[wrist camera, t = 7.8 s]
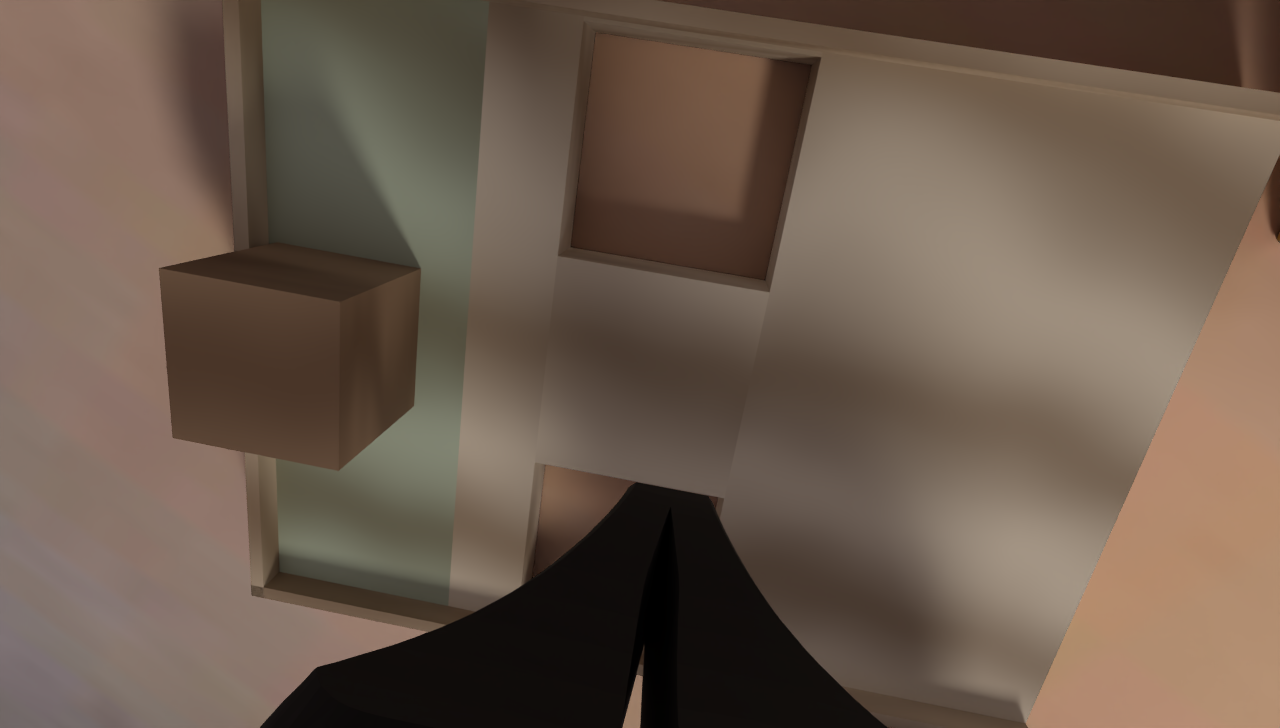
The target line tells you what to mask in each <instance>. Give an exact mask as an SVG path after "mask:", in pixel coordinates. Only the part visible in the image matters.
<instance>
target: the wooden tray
mask: <svg viewBox="0 0 1280 728" xmlns="http://www.w3.org/2000/svg"><path fill="white" fill-rule="evenodd" d="M222 10H223V30H224V50H225V70H226V90H227V111H228V131H229V151H230V171H231V191H232V211H233V231H234V251H240V250H244V249H249V248H253V247H258V246H263V245H267V244H272V243H276V242H279V243H284V244H290V245H295V246H301V247H306V248H312V249H317V250H323V251H328V252H334V253H339V254H345V255H350V256H356V257H361V258H367V259H372V260H378V261H383V262H388V263H394V264H399V265H405V266H410V267H416V268H421V281H420V301H419V321H418V341H417V361H416V380H415V400H414V407H412V408H411V409H410V410H409V411H408V412H407V413H405V414H404V415H403V416H402V417H401V418H400V419H399V420H397V421H396V422H395V423H394V424H393V425H392V426H390V427H389V428H388V429H387V430H386V431H385V432H383V433H382V434H381V435H380V436H379V437H378V438H376V439H375V440H374V441H373V442H372V443H371V444H369V445H368V446H367V447H366V448H365V449H364V450H362V451H361V452H360V453H359V454H358V455H357V456H355V457H354V458H353V459H352V460H351V461H350V462H349V463H347V464H346V465H345V466H344V467H343V468H342V469H340V470H339V471H336V470H331V469H326V468H321V467H316V466H311V465H306V464H301V463H296V462H291V461H286V460H281V459H276V458H271V457H266V456H261V455H256V454H251V453H246V452H245V471H246V491H247V511H248V531H249V551H250V572H251V592H252V596H257V597H261V598H266V599H271V600H276V601H281V602H286V603H291V604H295V605H300V606H305V607H310V608H315V609H320V610H325V611H329V612H334V613H339V614H344V615H349V616H354V617H359V618H363V619H368V620H373V621H378V622H383V623H388V624H393V625H397V626H402V627H407V628H412V629H417V630H422V631H427V632H430V631H433V630H435V629H438V628H440V627H443V626H445V625H447V624H450V623H452V622H454V621H457V620H459V619H461V618H463V617H466V616H468V615H470V614H472V613H474V612H476V611H478V610H480V609H481V608H483V607H485V606H487V605H489V604H491V603H493V602H495V601H497V600H498V599H500V598H502V597H504V596H505V595H507V594H509V593H511V592H512V591H514V590H516V589H517V588H519V587H520V586H522V585H523V584H525V583H526V582H528V581H529V580H531V579H532V573H533V565H534V556H535V548H536V539H537V530H538V522H539V513H540V505H541V496H542V487H543V479H544V470H545V464H546V465H551V466H556V467H562V468H567V469H572V470H577V471H583V472H588V473H593V474H599V475H604V476H609V477H614V478H620V479H625V480H630V481H636V482H641V483H646V484H651V485H657V486H662V487H667V488H672V489H678V490H683V491H688V492H694V493H699V494H704V495H709V496H715V497H718V501H717V506H716V512H717V514H718V516H719V518H720V521H721V523H722V525H723V527H724V529H725V531H726V533H727V535H728V537H729V539H730V541H731V543H732V545H733V547H734V548H735V550H736V552H737V554H738V556H739V557H740V559H741V561H742V562H743V564H744V566H745V568H746V569H747V571H748V573H749V574H750V576H751V578H752V579H753V581H754V582H755V584H756V586H757V587H758V589H759V590H760V592H761V593H762V595H763V596H764V597H765V599H766V600H767V602H768V603H769V605H770V606H771V608H772V609H773V610H774V612H775V613H776V614H777V616H778V617H779V618H780V620H781V621H782V622H783V623H784V624H785V626H786V627H787V628H788V629H789V630H790V632H791V633H792V634H793V635H794V636H795V638H796V639H797V640H798V641H799V642H800V643H801V645H802V646H803V647H804V648H805V649H806V650H807V651H808V653H809V654H810V655H811V656H812V657H813V658H814V659H815V660H816V661H817V662H818V663H819V664H820V665H821V666H822V667H823V668H824V669H825V670H826V671H827V672H828V673H829V674H830V675H831V676H832V677H833V678H834V679H835V680H836V681H837V682H838V683H839V684H840V685H841V686H842V687H843V688H844V689H845V690H846V691H847V692H848V693H849V694H850V695H851V696H852V697H853V698H854V699H855V700H857V701H858V702H859V703H860V704H861V705H862V706H863V707H864V708H865V709H867V710H868V711H869V712H870V713H871V714H872V715H873V716H874V717H876V718H877V719H878V720H879V721H880V722H882V723H883V724H884V725H885V726H888V727H893V728H1028V727H1027V725H1026V724H1025V723H1026V721H1027V719H1028V716H1029V714H1030V712H1031V710H1032V707H1033V705H1034V703H1035V701H1036V699H1037V696H1038V694H1039V692H1040V690H1041V687H1042V685H1043V683H1044V681H1045V678H1046V676H1047V674H1048V672H1049V669H1050V667H1051V665H1052V663H1053V661H1054V658H1055V656H1056V654H1057V652H1058V649H1059V647H1060V645H1061V643H1062V640H1063V638H1064V636H1065V634H1066V631H1067V629H1068V627H1069V625H1070V623H1071V620H1072V618H1073V616H1074V614H1075V611H1076V609H1077V607H1078V605H1079V602H1080V600H1081V598H1082V596H1083V593H1084V591H1085V589H1086V587H1087V584H1088V582H1089V580H1090V578H1091V576H1092V573H1093V571H1094V569H1095V567H1096V564H1097V562H1098V560H1099V558H1100V555H1101V553H1102V551H1103V549H1104V546H1105V544H1106V542H1107V540H1108V538H1109V535H1110V533H1111V531H1112V529H1113V526H1114V524H1115V522H1116V520H1117V517H1118V515H1119V513H1120V511H1121V508H1122V506H1123V504H1124V502H1125V499H1126V497H1127V495H1128V493H1129V491H1130V488H1131V486H1132V484H1133V482H1134V479H1135V477H1136V475H1137V473H1138V470H1139V468H1140V466H1141V464H1142V461H1143V459H1144V457H1145V455H1146V453H1147V450H1148V448H1149V446H1150V444H1151V441H1152V439H1153V437H1154V435H1155V432H1156V430H1157V428H1158V426H1159V423H1160V421H1161V419H1162V417H1163V414H1164V412H1165V410H1166V408H1167V406H1168V403H1169V401H1170V399H1171V397H1172V394H1173V392H1174V390H1175V388H1176V385H1177V383H1178V381H1179V379H1180V376H1181V374H1182V372H1183V370H1184V368H1185V365H1186V363H1187V361H1188V359H1189V356H1190V354H1191V352H1192V350H1193V347H1194V345H1195V343H1196V341H1197V338H1198V336H1199V334H1200V332H1201V329H1202V327H1203V325H1204V323H1205V321H1206V318H1207V316H1208V314H1209V312H1210V309H1211V307H1212V305H1213V303H1214V300H1215V298H1216V296H1217V294H1218V291H1219V289H1220V287H1221V285H1222V283H1223V280H1224V278H1225V276H1226V274H1227V271H1228V269H1229V267H1230V265H1231V262H1232V260H1233V258H1234V256H1235V253H1236V251H1237V249H1238V247H1239V244H1240V242H1241V240H1242V238H1243V236H1244V233H1245V231H1246V229H1247V227H1248V224H1249V222H1250V220H1251V218H1252V215H1253V213H1254V211H1255V209H1256V206H1257V204H1258V202H1259V200H1260V198H1261V195H1262V193H1263V191H1264V189H1265V186H1266V184H1267V182H1268V180H1269V177H1270V175H1271V173H1272V171H1273V168H1274V166H1275V164H1276V162H1277V159H1278V157H1279V155H1280V93H1277V92H1270V91H1264V90H1257V89H1250V88H1243V87H1237V86H1230V85H1223V84H1217V83H1210V82H1203V81H1196V80H1190V79H1183V78H1176V77H1169V76H1163V75H1156V74H1149V73H1143V72H1136V71H1129V70H1122V69H1116V68H1109V67H1102V66H1095V65H1089V64H1082V63H1075V62H1069V61H1062V60H1055V59H1048V58H1042V57H1035V56H1028V55H1021V54H1015V53H1008V52H1001V51H995V50H988V49H981V48H974V47H968V46H961V45H954V44H948V43H941V42H934V41H927V40H921V39H914V38H907V37H900V36H894V35H887V34H880V33H874V32H867V31H860V30H853V29H847V28H840V27H833V26H826V25H820V24H813V23H806V22H800V21H793V20H786V19H779V18H773V17H766V16H759V15H752V14H746V13H739V12H732V11H726V10H719V9H712V8H705V7H699V6H692V5H685V4H678V3H672V2H665V1H658V0H222ZM596 32H598V33H604V34H611V35H618V36H624V37H631V38H637V39H644V40H651V41H657V42H664V43H670V44H677V45H683V46H690V47H697V48H703V49H710V50H716V51H723V52H729V53H736V54H743V55H749V56H756V57H762V58H769V59H775V60H782V61H789V62H795V63H802V64H808V65H812V67H811V71H810V76H809V81H808V85H807V90H806V94H805V99H804V104H803V108H802V113H801V118H800V122H799V127H798V131H797V136H796V141H795V145H794V150H793V155H792V159H791V164H790V168H789V173H788V178H787V182H786V187H785V191H784V196H783V201H782V205H781V210H780V215H779V219H778V224H777V228H776V233H775V238H774V242H773V247H772V252H771V256H770V261H769V265H768V270H767V275H766V279H765V280H760V279H754V278H748V277H742V276H736V275H730V274H724V273H719V272H713V271H707V270H701V269H695V268H689V267H683V266H678V265H672V264H666V263H660V262H654V261H648V260H642V259H637V258H631V257H625V256H619V255H613V254H607V253H601V252H596V251H590V250H584V249H578V248H572V247H571V239H572V230H573V221H574V213H575V204H576V196H577V187H578V179H579V170H580V161H581V153H582V144H583V136H584V127H585V118H586V110H587V101H588V93H589V84H590V76H591V67H592V58H593V50H594V41H595V33H596ZM643 662H644V648H643V651H642V655H641V659H640V663H639V667H638V670H637V674H636V675H640V676H643Z"/></svg>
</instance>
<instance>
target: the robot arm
mask: <svg viewBox="0 0 1280 728" xmlns="http://www.w3.org/2000/svg"><path fill="white" fill-rule="evenodd" d="M643 648H644V662H643V682H642V703H641V725H640V728H888V727H886V726H885V725H884V724H883V723H882V722H880V721H879V720H878V719H877V718H876V717H874V716H873V715H872V714H871V713H870V712H869V711H868V710H867V709H865V708H864V707H863V706H862V705H861V704H860V703H859V702H858V701H857V700H855V699H854V698H853V697H852V696H851V695H850V694H849V693H848V692H847V691H846V690H845V689H844V688H843V687H842V686H841V685H840V684H839V683H838V682H837V681H836V680H835V679H834V678H833V677H832V676H831V675H830V674H829V673H828V672H827V671H826V670H825V669H824V668H823V667H822V666H821V665H820V664H819V663H818V662H817V661H816V660H815V659H814V658H813V657H812V656H811V655H810V654H809V653H808V651H807V650H806V649H805V648H804V647H803V646H802V645H801V643H800V642H799V641H798V640H797V639H796V638H795V636H794V635H793V634H792V633H791V632H790V630H789V629H788V628H787V627H786V626H785V624H784V623H783V622H782V621H781V620H780V618H779V617H778V616H777V614H776V613H775V612H774V610H773V609H772V608H771V606H770V605H769V603H768V602H767V600H766V599H765V597H764V596H763V595H762V593H761V592H760V590H759V589H758V587H757V586H756V584H755V582H754V581H753V579H752V578H751V576H750V574H749V573H748V571H747V569H746V568H745V566H744V564H743V562H742V561H741V559H740V557H739V556H738V554H737V552H736V550H735V548H734V547H733V545H732V543H731V541H730V539H729V537H728V535H727V533H726V531H725V529H724V527H723V525H722V523H721V521H720V518H719V516H718V514H717V512H716V509H715V507H714V504H713V502H712V501H711V499H710V498H709V496H706V495H701V494H695V493H690V492H685V491H680V490H674V489H669V488H664V487H659V486H653V485H648V484H643V483H638V482H636V483H635V484H633V485H631V486H630V487H629V488H628V489H627V491H626V493H625V494H624V495H623V497H622V498H621V499H620V501H619V502H618V503H617V504H616V505H615V506H614V508H613V509H612V510H611V511H610V512H609V513H608V514H607V515H606V516H605V517H604V518H603V519H602V520H601V521H600V522H599V523H598V524H597V525H596V526H595V527H594V528H593V529H592V530H591V531H590V532H589V533H588V534H587V535H586V536H585V537H584V538H583V539H582V540H581V541H580V542H578V543H577V544H576V545H575V546H574V547H573V548H571V549H570V550H569V551H568V552H567V553H565V554H564V555H563V556H562V557H561V558H559V559H558V560H557V561H556V562H554V563H553V564H552V565H551V566H549V567H548V568H546V569H545V570H544V571H542V572H541V573H540V574H538V575H537V576H535V577H534V578H532V579H531V580H529V581H528V582H526V583H525V584H523V585H522V586H520V587H519V588H517V589H516V590H514V591H512V592H511V593H509V594H507V595H505V596H504V597H502V598H500V599H498V600H497V601H495V602H493V603H491V604H489V605H487V606H485V607H483V608H481V609H480V610H478V611H476V612H474V613H472V614H470V615H468V616H466V617H463V618H461V619H459V620H457V621H454V622H452V623H450V624H447V625H445V626H443V627H440V628H438V629H435V630H433V631H430V632H428V633H425V634H422V635H420V636H417V637H415V638H412V639H409V640H406V641H404V642H401V643H398V644H395V645H392V646H389V647H385V648H382V649H379V650H375V651H372V652H369V653H365V654H362V655H359V656H355V657H352V658H349V659H345V660H342V661H339V662H335V663H331V664H327V665H324V666H320V667H317V668H316V669H314V670H313V671H312V673H311V674H310V675H309V676H308V677H307V678H306V679H305V680H304V681H303V682H302V683H301V685H300V686H298V687H297V688H296V689H295V690H294V691H293V692H292V693H291V694H290V695H289V696H288V697H287V698H286V699H285V700H284V701H283V702H282V703H281V704H280V706H279V707H278V708H277V709H276V710H275V711H274V712H273V713H272V714H271V716H270V717H269V718H268V719H267V720H266V721H265V722H264V723H263V724H262V726H261V727H260V728H622V727H623V723H624V719H625V715H626V712H627V708H628V704H629V700H630V697H631V693H632V689H633V685H634V682H635V678H636V674H637V670H638V667H639V663H640V659H641V655H642V651H643Z"/></svg>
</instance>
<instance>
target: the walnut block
mask: <svg viewBox="0 0 1280 728" xmlns="http://www.w3.org/2000/svg"><path fill="white" fill-rule="evenodd" d="M159 275H160V288H161V300H162V312H163V324H164V337H165V349H166V361H167V374H168V386H169V398H170V411H171V423H172V435H173V438H176V439H181V440H186V441H191V442H196V443H201V444H206V445H211V446H216V447H221V448H226V449H231V450H236V451H241V452H246V453H251V454H256V455H261V456H266V457H271V458H276V459H281V460H286V461H291V462H296V463H301V464H306V465H311V466H316V467H321V468H326V469H331V470H336V471H339V470H340V469H342V468H343V467H344V466H345V465H346V464H347V463H349V462H350V461H351V460H352V459H353V458H354V457H355V456H357V455H358V454H359V453H360V452H361V451H362V450H364V449H365V448H366V447H367V446H368V445H369V444H371V443H372V442H373V441H374V440H375V439H376V438H378V437H379V436H380V435H381V434H382V433H383V432H385V431H386V430H387V429H388V428H389V427H390V426H392V425H393V424H394V423H395V422H396V421H397V420H399V419H400V418H401V417H402V416H403V415H404V414H405V413H407V412H408V411H409V410H410V409H411V408H412V407H414V400H415V380H416V361H417V341H418V321H419V301H420V281H421V268H416V267H410V266H405V265H399V264H394V263H388V262H383V261H378V260H372V259H367V258H361V257H356V256H350V255H345V254H339V253H334V252H328V251H323V250H317V249H312V248H306V247H301V246H295V245H290V244H284V243H279V242H276V243H272V244H267V245H263V246H258V247H253V248H249V249H244V250H240V251H235V252H231V253H226V254H221V255H217V256H212V257H208V258H203V259H199V260H194V261H189V262H185V263H180V264H176V265H171V266H167V267H162V268H159Z"/></svg>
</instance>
